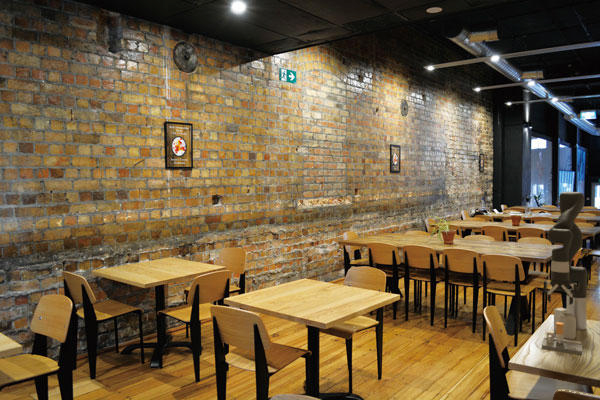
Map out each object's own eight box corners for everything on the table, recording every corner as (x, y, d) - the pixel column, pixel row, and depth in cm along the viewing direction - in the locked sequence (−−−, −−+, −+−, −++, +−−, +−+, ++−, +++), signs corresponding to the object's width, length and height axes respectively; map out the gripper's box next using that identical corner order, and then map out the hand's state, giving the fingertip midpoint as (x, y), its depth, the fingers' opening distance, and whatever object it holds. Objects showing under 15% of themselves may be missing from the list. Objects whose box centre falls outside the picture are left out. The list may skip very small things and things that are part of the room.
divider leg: (555, 345, 211) (555, 325, 211) (556, 340, 218) (556, 321, 217) (562, 346, 210) (562, 326, 209) (563, 341, 216) (563, 322, 216)
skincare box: (561, 333, 233) (561, 311, 232) (553, 331, 236) (553, 309, 236) (568, 331, 235) (568, 309, 235) (560, 329, 239) (560, 307, 239)
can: (571, 334, 230) (571, 312, 230) (578, 339, 223) (578, 316, 222) (556, 334, 231) (556, 312, 231) (563, 339, 224) (563, 316, 223)
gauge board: (541, 348, 213) (541, 334, 213) (543, 340, 223) (543, 327, 223) (582, 354, 204) (582, 340, 204) (582, 346, 214) (582, 333, 214)
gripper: (577, 270, 213) (577, 303, 214) (544, 267, 221) (544, 299, 222) (577, 272, 207) (577, 307, 207) (542, 270, 215) (542, 303, 215)
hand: (560, 303), depth 214 cm, fingers open, 8 cm apart
